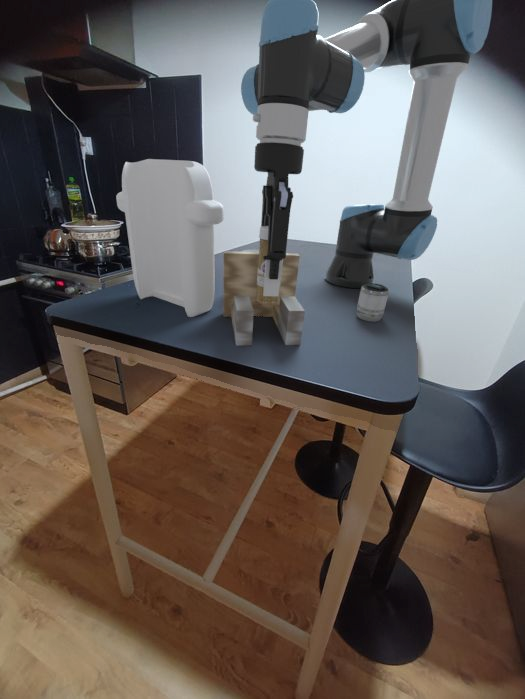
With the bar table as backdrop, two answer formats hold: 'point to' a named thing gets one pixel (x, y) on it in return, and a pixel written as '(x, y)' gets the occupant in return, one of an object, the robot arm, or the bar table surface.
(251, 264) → the headboard stand
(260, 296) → the sprinkles bottle
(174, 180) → the white contoured slab
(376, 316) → the camera lens
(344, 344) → the bar table surface
